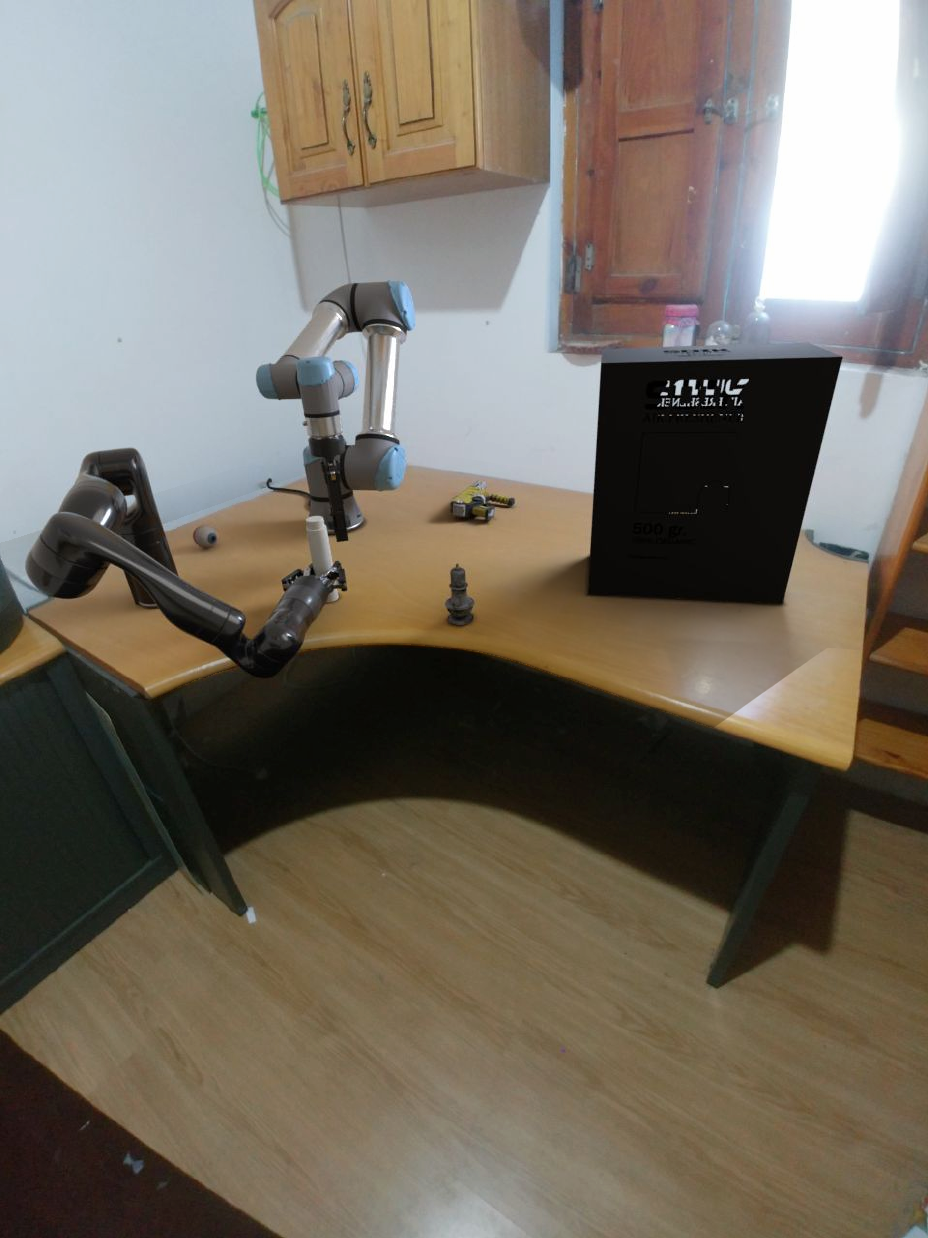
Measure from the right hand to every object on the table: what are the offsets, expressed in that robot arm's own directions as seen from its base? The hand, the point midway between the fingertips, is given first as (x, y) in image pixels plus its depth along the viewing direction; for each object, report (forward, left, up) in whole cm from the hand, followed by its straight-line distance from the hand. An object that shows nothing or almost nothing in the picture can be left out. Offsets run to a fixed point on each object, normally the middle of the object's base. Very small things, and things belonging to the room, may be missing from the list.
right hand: (341, 536), depth 141 cm
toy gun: (-8, +50, -8) cm, 51 cm away
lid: (0, 0, +4) cm, 4 cm away
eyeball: (-36, -22, -8) cm, 43 cm away
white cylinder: (+12, -10, -8) cm, 18 cm away
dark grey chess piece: (+39, +6, -8) cm, 40 cm away
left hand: (+10, -9, -1) cm, 14 cm away
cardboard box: (+56, +52, -8) cm, 77 cm away
